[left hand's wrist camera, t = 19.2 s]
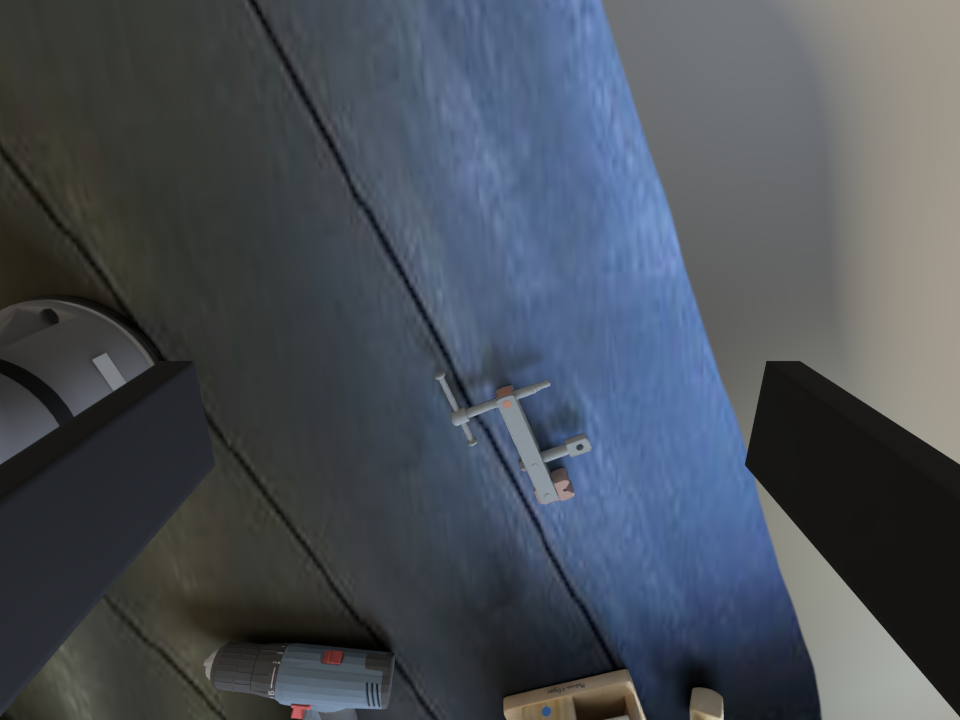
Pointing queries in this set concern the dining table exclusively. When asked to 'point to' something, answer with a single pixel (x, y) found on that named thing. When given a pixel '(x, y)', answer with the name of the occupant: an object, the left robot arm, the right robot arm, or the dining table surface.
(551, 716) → the pounding bench toy
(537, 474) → the clamp
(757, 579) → the dining table surface
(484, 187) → the dining table surface
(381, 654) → the power drill
